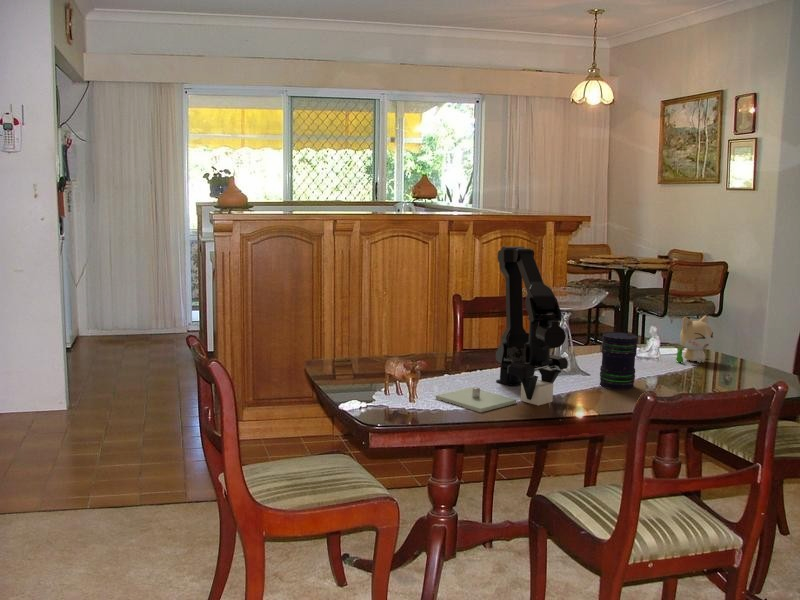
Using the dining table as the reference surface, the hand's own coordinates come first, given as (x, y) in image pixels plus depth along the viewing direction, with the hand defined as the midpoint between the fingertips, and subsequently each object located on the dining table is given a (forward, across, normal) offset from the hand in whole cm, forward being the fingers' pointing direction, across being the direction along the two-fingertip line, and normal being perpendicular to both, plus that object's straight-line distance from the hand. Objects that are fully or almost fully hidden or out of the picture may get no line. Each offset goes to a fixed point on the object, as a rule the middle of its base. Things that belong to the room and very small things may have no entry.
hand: (536, 397), depth 224 cm
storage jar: (+1, -32, +4) cm, 32 cm away
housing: (+1, 0, 0) cm, 1 cm away
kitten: (+1, -82, +1) cm, 82 cm away
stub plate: (+1, +13, -10) cm, 16 cm away
